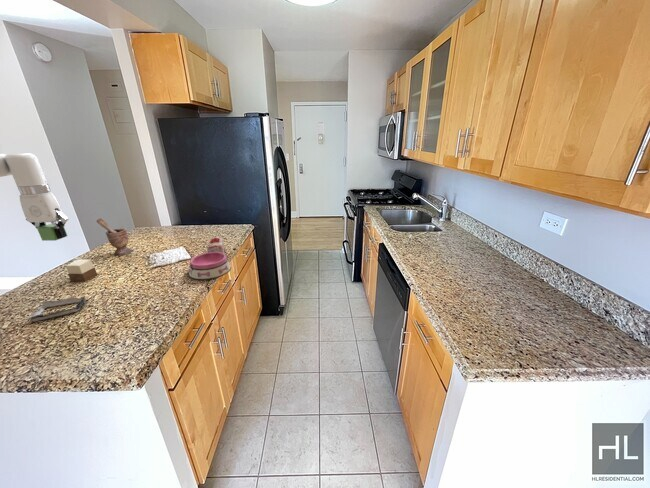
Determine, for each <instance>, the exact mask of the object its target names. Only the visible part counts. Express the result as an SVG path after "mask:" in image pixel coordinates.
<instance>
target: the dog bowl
mask: <svg viewBox="0 0 650 488" xmlns="http://www.w3.org/2000/svg"><path fill="white" fill-rule="evenodd" d="M231 270H232V265H231V263H230V262H229V259H228V256H227V255H226V254H225V252H224V253H221V252H209V253H208V252H203V253H200V254H198V255H196V256H195V255H194V256H193V257H191V259H190V261H189V272H188V276H189V277H190V279H192V280H195V281H211V280H214V279H218V278H220V277H223V276H226V275H227V274H229V272H231Z"/></svg>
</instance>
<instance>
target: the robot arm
mask: <svg viewBox="0 0 650 488" xmlns="http://www.w3.org/2000/svg"><path fill="white" fill-rule="evenodd" d="M8 176H12V178H13V180H14V182H15V185H16V187H17V190H18V192H19V194H20V195H19V202H20V206H21V210H22V213H23V215H24V217H25V221H27V223H30V224H31V225H32V226H34V227H35V229H36V230H37V228H39V227H42V226H45V225H47V223H50V224H52V225H53V226H54V227H55V229H54V231H55V234H56V236H57V238H58V240H61V239H63V238H66V237H68V234H67V235H66V233H67V231H66V229H65V230H64V228H65V225H66V223H67V222H68V221H69V217H68V216H67V215H65V214H64V212H63V210H62V207H61V205H60V203H59V202H58V200H57V197H55V195H54V193H53V192H52V191H51V188H50V185H49V183H48V181H47V178H46V176H45V173H44V171H43V168H42V166H41V163H40V161H39V158H38V157H37V155H36V154H34V153H10V154H9V153H0V178H1V177H2V178H3V177H8ZM65 231H66V232H65Z"/></svg>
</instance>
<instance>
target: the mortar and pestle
mask: <svg viewBox="0 0 650 488" xmlns="http://www.w3.org/2000/svg"><path fill="white" fill-rule="evenodd" d="M96 223H97V224H98V225H99V226H100V227H102V228H104V229H105V230H107V231H106V232H105V235H106V237H107V240H108V242H109V244H110V245H111V246H112V247H114V248H116V249H115V251H114V255H115V256H118V257H119V256H124V255H125V256H126V255H129V254H130V253H132V250H131V248H129V247H128V246H127V245H128V243H129V235H128V233H127V229H126V228H112V227H111V226H110V225H109V224H108V223H107V222H106V220H104V219H103V218H98V219H97V220H96Z"/></svg>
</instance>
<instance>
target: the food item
mask: <svg viewBox="0 0 650 488" xmlns="http://www.w3.org/2000/svg"><path fill="white" fill-rule="evenodd" d="M208 240H209V244H207V245H206V250H207V253H209V252H221V253H224V254H225V244H224V240H223V238H222V237H217V236H216V237H212V238H211V237H210V238H209V239H208Z"/></svg>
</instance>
